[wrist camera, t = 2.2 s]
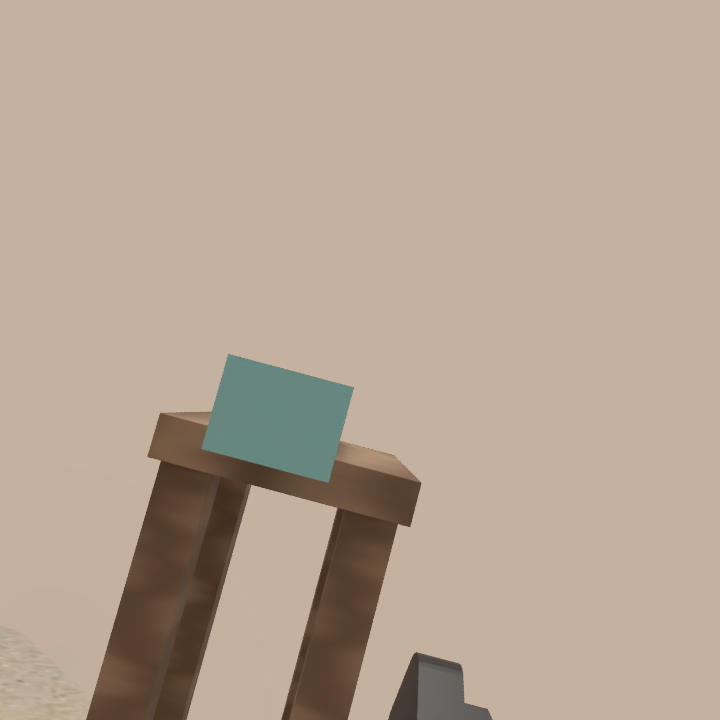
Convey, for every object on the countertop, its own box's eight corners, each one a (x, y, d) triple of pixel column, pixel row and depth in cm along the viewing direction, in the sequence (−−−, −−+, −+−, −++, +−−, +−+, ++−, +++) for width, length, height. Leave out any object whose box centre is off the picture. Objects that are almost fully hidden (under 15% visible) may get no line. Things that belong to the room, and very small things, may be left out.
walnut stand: (-63, 1179, 26) (160, 412, 29) (99, 875, 43) (229, 411, 46) (223, 1255, 26) (421, 482, 29) (272, 921, 43) (393, 455, 45)
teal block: (201, 449, 20) (228, 353, 20) (281, 426, 44) (293, 383, 44) (328, 482, 20) (353, 387, 20) (338, 442, 44) (350, 399, 44)
